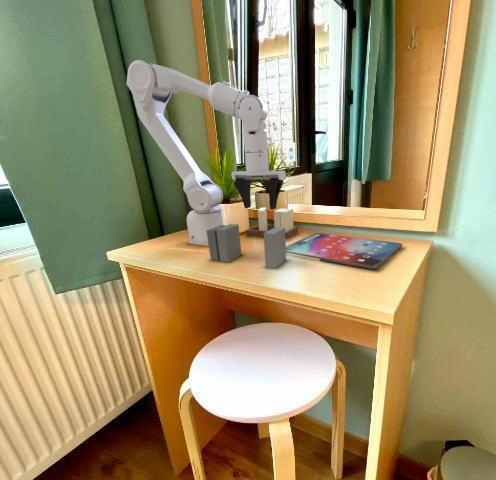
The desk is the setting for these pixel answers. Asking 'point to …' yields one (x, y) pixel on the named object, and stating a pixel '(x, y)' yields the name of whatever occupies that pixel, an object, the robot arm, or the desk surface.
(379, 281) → the desk surface
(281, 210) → the white books
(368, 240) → the tablet
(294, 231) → the book tray
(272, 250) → the grey books
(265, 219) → the white book
